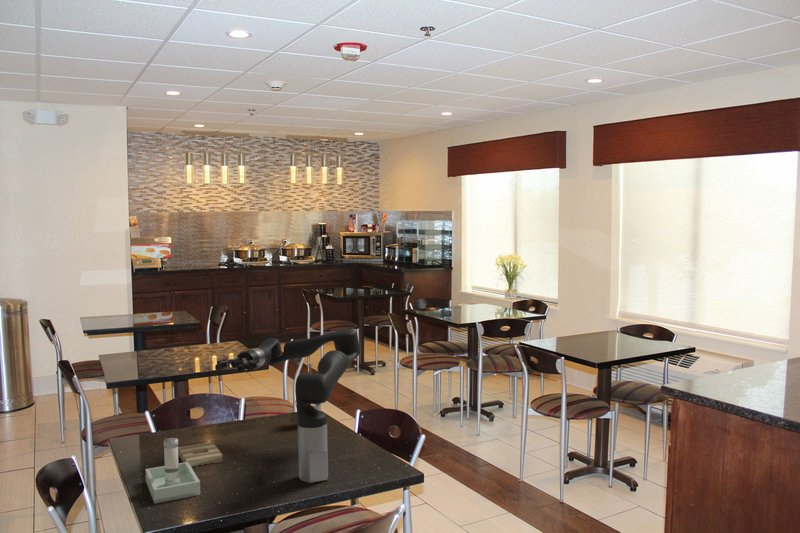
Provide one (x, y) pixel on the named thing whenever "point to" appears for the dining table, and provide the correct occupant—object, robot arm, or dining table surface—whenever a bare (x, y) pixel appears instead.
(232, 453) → the dining table surface
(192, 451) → the fuse holder
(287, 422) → the dining table surface
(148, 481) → the parts tray
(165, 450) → the fuse
